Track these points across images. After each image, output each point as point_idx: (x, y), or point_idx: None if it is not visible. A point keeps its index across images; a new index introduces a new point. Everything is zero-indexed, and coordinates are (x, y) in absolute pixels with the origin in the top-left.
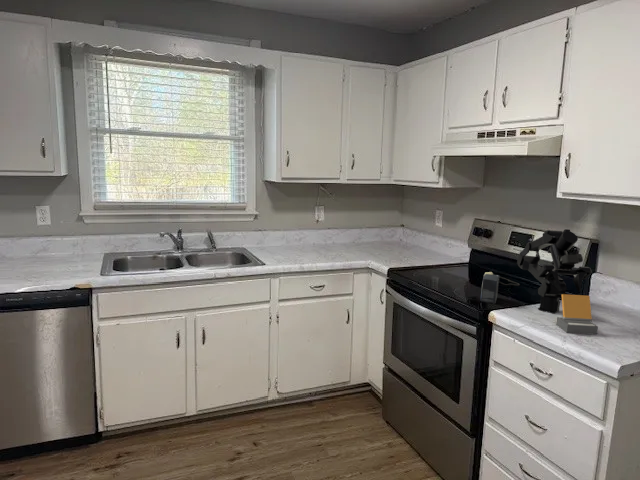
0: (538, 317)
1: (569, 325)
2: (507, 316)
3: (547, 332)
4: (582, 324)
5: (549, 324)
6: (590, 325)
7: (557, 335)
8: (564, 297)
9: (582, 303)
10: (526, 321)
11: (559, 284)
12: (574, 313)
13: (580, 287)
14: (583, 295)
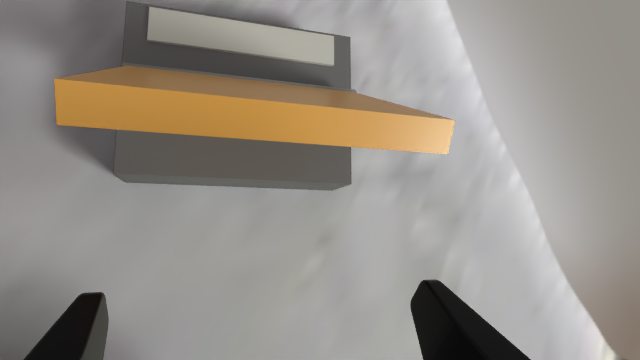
0: (384, 325)
1: (337, 37)
2: (554, 300)
3: (435, 63)
4: (243, 32)
5: (370, 193)
6: (188, 12)
7: (402, 23)
8: (419, 111)
9: (198, 84)
10: (482, 228)
11: (491, 344)
12: (282, 85)
13: (53, 343)
14: (168, 88)
